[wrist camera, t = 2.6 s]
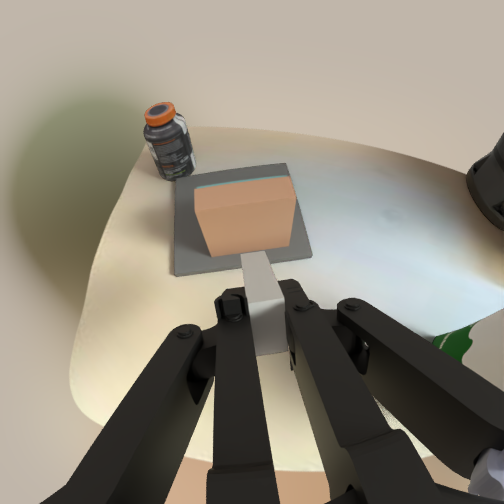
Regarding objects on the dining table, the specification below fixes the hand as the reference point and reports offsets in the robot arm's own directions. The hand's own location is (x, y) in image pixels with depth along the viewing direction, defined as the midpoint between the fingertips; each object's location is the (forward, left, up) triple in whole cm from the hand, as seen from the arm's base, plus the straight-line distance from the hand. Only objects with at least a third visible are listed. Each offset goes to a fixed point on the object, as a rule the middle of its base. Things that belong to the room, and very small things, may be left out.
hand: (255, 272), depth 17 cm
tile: (0, -9, -12) cm, 15 cm away
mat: (+1, -14, -13) cm, 19 cm away
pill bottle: (+9, -24, -13) cm, 29 cm away
